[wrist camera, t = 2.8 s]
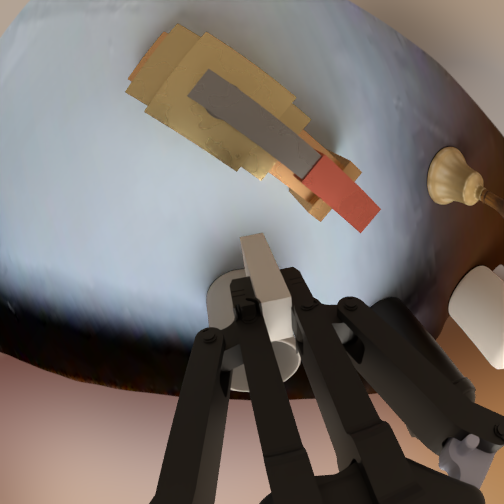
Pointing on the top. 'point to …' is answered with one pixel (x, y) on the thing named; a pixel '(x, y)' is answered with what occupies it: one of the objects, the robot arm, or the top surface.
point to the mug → (224, 316)
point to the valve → (216, 130)
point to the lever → (285, 148)
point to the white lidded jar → (481, 312)
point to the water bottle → (421, 342)
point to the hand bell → (458, 181)
